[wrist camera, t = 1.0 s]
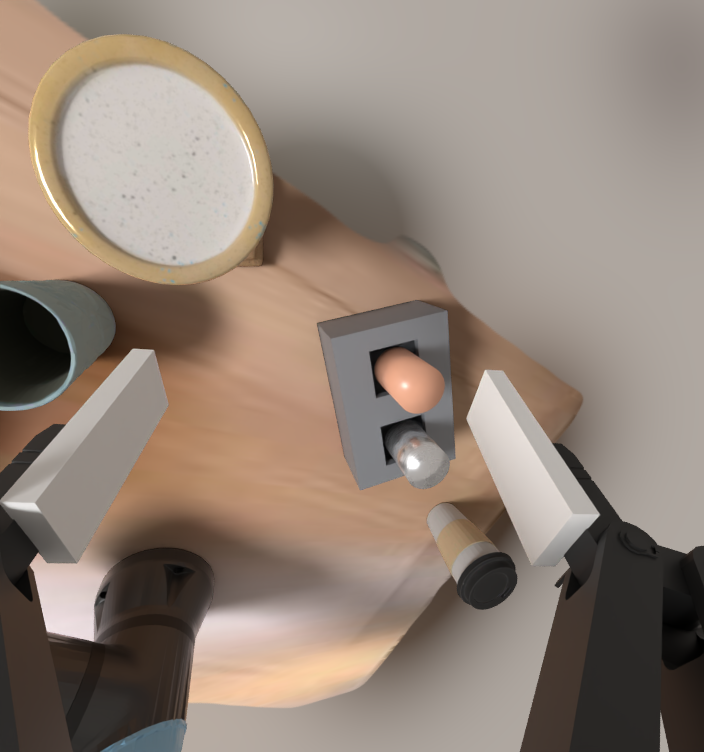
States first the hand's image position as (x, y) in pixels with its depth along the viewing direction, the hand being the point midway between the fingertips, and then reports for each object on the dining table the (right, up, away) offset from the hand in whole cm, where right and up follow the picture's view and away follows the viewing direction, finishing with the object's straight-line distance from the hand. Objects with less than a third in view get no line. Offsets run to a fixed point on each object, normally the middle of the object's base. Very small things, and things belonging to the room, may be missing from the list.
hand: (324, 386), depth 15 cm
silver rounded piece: (+8, -8, +31) cm, 33 cm away
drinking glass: (-29, +7, +23) cm, 38 cm away
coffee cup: (+17, -25, +49) cm, 58 cm away
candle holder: (-14, +18, +23) cm, 33 cm away
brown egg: (+6, +1, +27) cm, 28 cm away
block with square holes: (+5, -1, +36) cm, 36 cm away
